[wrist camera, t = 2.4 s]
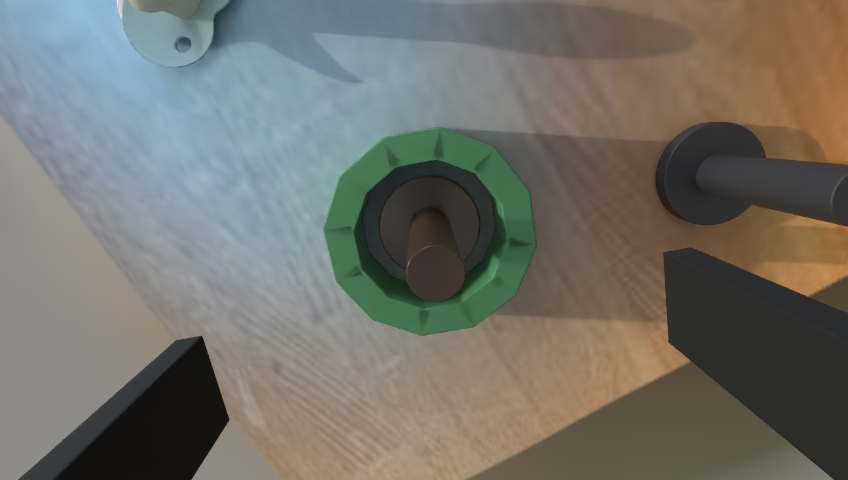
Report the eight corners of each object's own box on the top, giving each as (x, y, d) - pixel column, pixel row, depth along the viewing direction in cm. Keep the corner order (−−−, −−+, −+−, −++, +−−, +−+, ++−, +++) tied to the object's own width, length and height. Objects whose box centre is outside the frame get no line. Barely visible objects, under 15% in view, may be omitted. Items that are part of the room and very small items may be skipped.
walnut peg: (469, 166, 27) (498, 187, 18) (484, 261, 29) (519, 329, 19) (371, 184, 27) (346, 215, 18) (390, 278, 29) (377, 353, 19)
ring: (506, 114, 27) (520, 111, 23) (530, 292, 29) (545, 314, 26) (318, 149, 27) (304, 152, 23) (359, 322, 29) (351, 348, 26)
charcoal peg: (754, 113, 27) (947, 104, 17) (755, 212, 28) (933, 256, 18) (652, 132, 27) (785, 134, 17) (658, 229, 28) (784, 282, 19)
